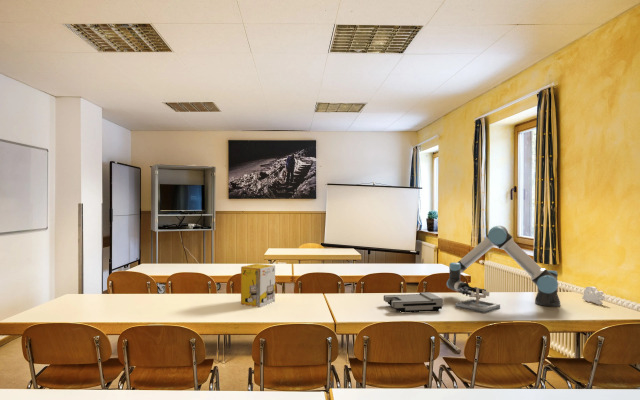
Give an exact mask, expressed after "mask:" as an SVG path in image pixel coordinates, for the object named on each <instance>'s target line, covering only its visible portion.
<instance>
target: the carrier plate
mask: <svg viewBox="0 0 640 400" xmlns="http://www.w3.org/2000/svg"><path fill="white" fill-rule="evenodd" d="M455 308H457V309H462V310H467V311H472V312H476V313H481V314H486V313H490V312H494V311H496V310H499V309H500V308H501V304H500V303H497V302H496V303H495V302H490V301H485V300H481V299H479V304H476V298H469V299H465V300H463V301H462V300H461V301H458V302H455Z"/></svg>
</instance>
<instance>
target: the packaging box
mask: <svg viewBox="0 0 640 400" xmlns="http://www.w3.org/2000/svg"><path fill="white" fill-rule="evenodd" d="M272 302H274V303H276V265H274V264H273V265H271V264H262V263H253V264H248V265H243V266H240V305H243V304H246V305H245V306H250V305H252V306H251V307H256V306H258V307H257V308H262V307H265V306H268V305H271V304H273V303H272ZM270 303H271V304H270ZM267 304H268V305H267Z"/></svg>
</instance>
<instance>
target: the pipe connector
mask: <svg viewBox="0 0 640 400" xmlns="http://www.w3.org/2000/svg"><path fill="white" fill-rule="evenodd" d="M479 288H480V287H477V288H476V293H475V297H474V298H475V299H476V304H479V300H481V298H483V299H487V296H486V295H483V294H480V293H479ZM468 297H470V298H473V297H472V296H470V295H468Z"/></svg>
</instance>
